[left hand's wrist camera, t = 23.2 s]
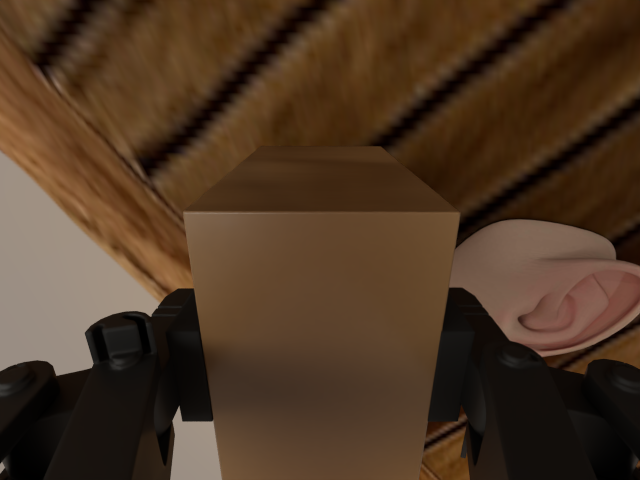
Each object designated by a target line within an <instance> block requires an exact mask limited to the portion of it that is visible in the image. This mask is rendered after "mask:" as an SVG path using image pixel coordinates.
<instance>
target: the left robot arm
mask: <svg viewBox="0 0 640 480" xmlns="http://www.w3.org/2000/svg"><path fill="white" fill-rule="evenodd" d="M85 336H86V339H87V342H88V346H89V349H90V352H91V356H92V359H93V363H94V364H93V367H92V368H90V369H87V370H83V371H78V372H73V373H68V374H64V375H59V376H56V374H55V371H54V368H53V366H52V365H51V364H50V363H48V362H46V361H38V360H37V361H30V362H23V363H19V364H17V365H13V366H10V367H8V368H6V369H4V370H2V371H0V463H1V462H3V464H4V466H5V469H4V470H3V471H2V472H1V474H0V480H170V476H171V466H172V457H173V447H174V438H175V433H174V427H173V422H172V420H173V418H174V416H175V414H176V411H177V409H178V407H179V406H180V411H181V416H182V421H213V414H212V407H211V401H210V394H209V387H208V380H207V373H206V366H205V360H204V353H203V346H202V339H201V332H200V325H199V319H198V312H197V305H196V298H195V291H194V289H177V290H175V291H174V292H172V293H171V294H169V295H168V296H166V297H165V298H164V299H163V301H162V302H161V303H160V305H159V306H158V309H156V310H155V311H154V312H153V314H152V317H150V316H148V315H147V314H146V313H143V312H138V311H129V312H122V313H117V314H113V315H110V316H108V317H105V318H103V319H101V320H99V321H97V322H96V323H94V324H93V325H91V326H90V327H89V329H88V330H87V331H86V332H85ZM461 405H462V407H463V409H464V411H465V413H466V416H467V418H468V422H467V427H466V432H465V437H464V441H463V446H462V451H461V457H462V458H466V453H467V456H468V465H469V475H470V480H640V471H639V470H638V469H637V467H636V465H637V463H638V461H639V460H640V369H638V368H636V367H634V366H632V365H630V364H627V363H624V362H620V361H615V360H608V359H599V360H593V361H592V362H591V363H589V364H588V366H587V369H586V372H585V375H584V374H579V373H575V372H570V371H565V370H560V369H556V368H552V367H548V366H547V364H546V362H545V361H544V359H543V358H542V357H541V355H539V354H538V353H537V352H535V351H534V350H533V349H531V348H529V347H527V346H525V345H523V344H521V343H517V342H513V341H510V340H509V339H508V337H507V336H506V335H505V334H504V332H503V331H502V330H501V328H500V327H499V326H498V325H497V323H496V322H495V321H494V319H493V318H492V317H491V316H489V313H488V312H487V311H486V309H485V308H484V307H483V305H482V304H481V303H480V302H479V300H478V299H477V298H476V296H475V295H473V294H472V293H470V292H468V291H467V290H465V289H464V288H462V287H449V290H448V297H447V303H446V309H445V316H444V322H443V328H442V331H441V336H440V342H439V349H438V355H437V362H436V368H435V375H434V381H433V388H432V395H431V401H430V408H429V414H428V421H458V417H459V412H460V407H461Z"/></svg>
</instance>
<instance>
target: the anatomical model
mask: <svg viewBox="0 0 640 480" xmlns="http://www.w3.org/2000/svg"><path fill="white" fill-rule="evenodd" d="M449 287H462V288H464V289H465V290H467V291H468V292H470V293H472V294H473V295H475V296H476V298H477V299H478V300H479V302H480V303H481V304H482V305H483V307H484V308H485V309H486V311H487V312H488V313H489V316H491V317H492V318H493V319H494V321H495V322H496V323H497V325H498V326H499V327H500V328H501V330H502V331H503V332H504V334H505V335H506V336H507V337H508V339H509V340H510V341H513V342H517V343H521V344H523V345H525V346H527V347H529V348H531V349H533V350H534V351H535V352H537V353H538V354H539V355H541V357H544V356H551V355H557V354H563V353H568V352H572V351H576V350H579V349H582V348H585V347H588V346H590V345H593V344H595V343H597V342H599V341H601V340H603V339H605V338H607V337H609V336H610V335H612V334H614V333H615V332H617V331H618V330H620V329H621V328H623V327H624V326H626V325H627V324H628V323H629V322H631V321H632V320H633V319H634V318H635V317H636V316H637V315H638V314H639V313H640V266H639V265H636V264H633V263H629V262H625V261H620V260H616V252H615V249H614V246H613V245H612V243H611V242H610V241H609V240H607V239H606V238H604V237H603V236H600V235H598V234H596V233H593V232H590V231H587V230H583V229H580V228H576V227H572V226H567V225H563V224H557V223H551V222H545V221H537V220H523V219H515V220H505V221H500V222H496V223H493V224H491V225H489V226H486V227H484V228H482V229H481V230H479V231H477V232H476V233H474V234H473V235H472V236H470V237H469V238H467V239H466V240H465V241H464V242H463V243H461V244H460V245H459V246H458V247H457V248H456V249H455V252H454V259H453V265H452V271H451V278H450V284H449Z"/></svg>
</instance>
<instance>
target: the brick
mask: <svg viewBox="0 0 640 480" xmlns="http://www.w3.org/2000/svg"><path fill="white" fill-rule="evenodd" d="M183 216H184V223H185V230H186V237H187V243H188V250H189V257H190V264H191V271H192V278H193V284H194V291H195V298H196V305H197V312H198V319H199V325H200V332H201V339H202V346H203V353H204V360H205V366H206V373H207V380H208V387H209V394H210V401H211V407H212V414H213V421H214V428H215V435H216V441H217V448H218V455H219V462H220V469H221V476H222V480H419V474H420V467H421V461H422V455H423V448H424V442H425V436H426V429H427V423H428V414H429V408H430V401H431V395H432V388H433V381H434V375H435V368H436V362H437V355H438V349H439V342H440V336H441V331H442V328H443V322H444V316H445V309H446V303H447V297H448V290H449V284H450V278H451V271H452V265H453V259H454V252H455V246H456V240H457V233H458V227H459V221H460V212H459V211H458V210H457V209H456V208H454V207H453V206H452V205H451V204H450V203H448V202H447V201H446V200H445V199H444V198H442V197H441V196H440V195H439V194H437V193H436V192H435V191H434V190H433V189H431V188H430V187H429V186H428V185H427V184H425V183H424V182H423V181H422V180H421V179H419V178H418V177H417V176H416V175H415V174H413V173H412V172H411V171H410V170H408V169H407V168H406V167H405V166H404V165H402V164H401V163H400V162H399V161H398V160H396V159H395V158H394V157H393V156H392V155H390V154H389V153H388V152H387V151H385V150H384V149H383V148H382V147H380V146H261V147H259V148H258V149H257V150H256V151H255V152H254V153H252V154H251V155H250V156H249V157H248V158H246V159H245V160H244V161H243V162H242V163H240V164H239V165H238V166H237V167H236V168H234V169H233V170H232V171H231V172H230V173H228V174H227V175H226V176H225V177H224V178H223V179H221V180H220V181H219V182H218V183H217V184H215V185H214V186H213V187H212V188H211V189H209V190H208V191H207V192H206V193H205V194H203V195H202V196H201V197H200V198H199V199H197V200H196V201H195V202H194V203H193V204H192V205H190V206H189V207H188V208H187V209H186V210H184V211H183Z"/></svg>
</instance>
